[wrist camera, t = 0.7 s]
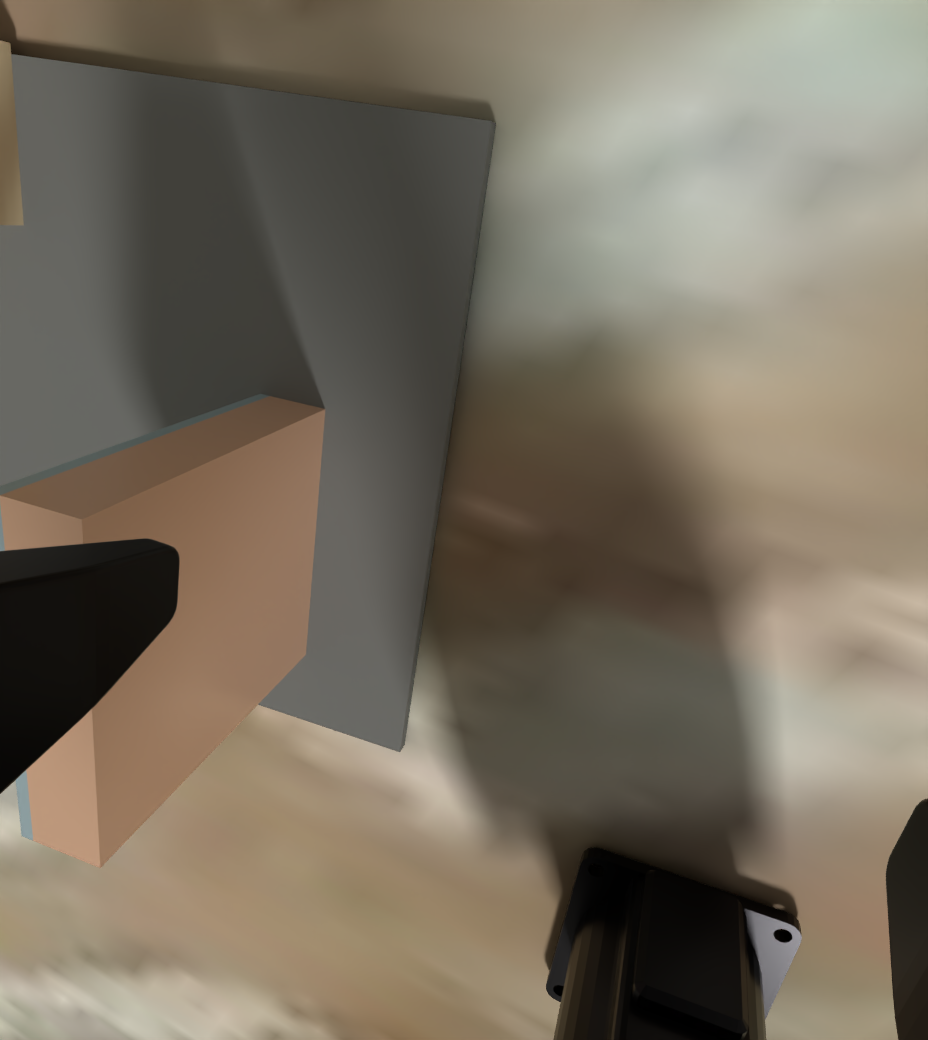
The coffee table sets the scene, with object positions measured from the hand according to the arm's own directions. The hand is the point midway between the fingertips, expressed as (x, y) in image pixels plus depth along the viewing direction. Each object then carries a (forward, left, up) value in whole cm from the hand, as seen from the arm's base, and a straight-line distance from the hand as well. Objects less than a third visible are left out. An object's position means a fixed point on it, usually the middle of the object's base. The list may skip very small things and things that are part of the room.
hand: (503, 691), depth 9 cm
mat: (-2, +13, -12) cm, 18 cm away
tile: (-5, +9, -11) cm, 15 cm away
